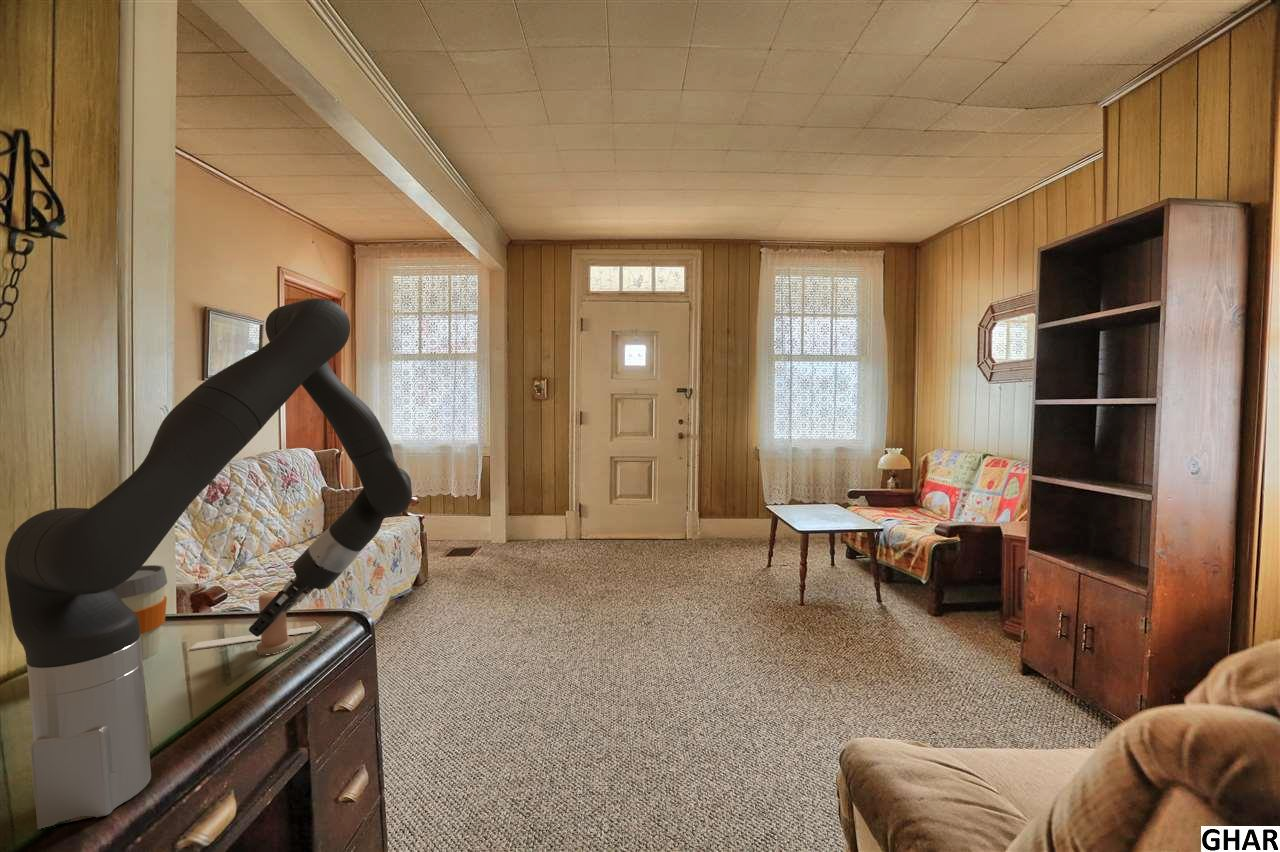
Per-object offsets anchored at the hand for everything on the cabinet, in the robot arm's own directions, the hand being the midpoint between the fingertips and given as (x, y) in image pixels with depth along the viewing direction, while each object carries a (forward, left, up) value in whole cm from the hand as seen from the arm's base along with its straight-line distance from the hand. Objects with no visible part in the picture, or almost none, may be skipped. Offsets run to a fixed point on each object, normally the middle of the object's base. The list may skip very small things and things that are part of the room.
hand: (263, 625), depth 103 cm
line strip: (+7, +3, -4) cm, 9 cm away
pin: (0, -2, -4) cm, 5 cm away
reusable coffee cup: (+7, +23, -5) cm, 25 cm away
